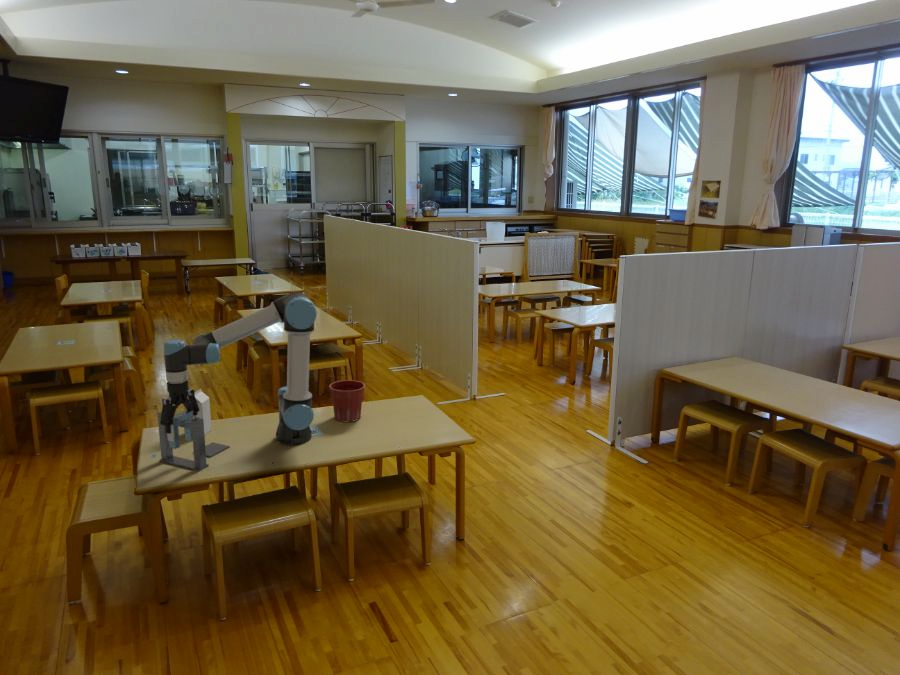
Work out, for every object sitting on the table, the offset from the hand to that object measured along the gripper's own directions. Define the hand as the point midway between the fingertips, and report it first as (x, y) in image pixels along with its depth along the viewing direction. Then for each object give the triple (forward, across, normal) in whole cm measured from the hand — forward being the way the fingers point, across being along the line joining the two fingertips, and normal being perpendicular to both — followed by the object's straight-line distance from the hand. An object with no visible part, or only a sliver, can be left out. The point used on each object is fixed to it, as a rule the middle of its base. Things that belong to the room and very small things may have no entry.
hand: (182, 435), depth 248 cm
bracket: (+3, 0, 0) cm, 3 cm away
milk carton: (+12, -27, -18) cm, 34 cm away
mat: (+12, -14, 0) cm, 19 cm away
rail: (+12, 0, 0) cm, 12 cm away
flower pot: (+12, -71, +30) cm, 78 cm away
